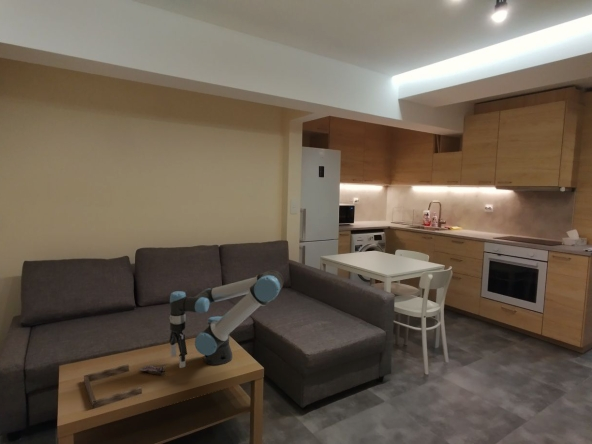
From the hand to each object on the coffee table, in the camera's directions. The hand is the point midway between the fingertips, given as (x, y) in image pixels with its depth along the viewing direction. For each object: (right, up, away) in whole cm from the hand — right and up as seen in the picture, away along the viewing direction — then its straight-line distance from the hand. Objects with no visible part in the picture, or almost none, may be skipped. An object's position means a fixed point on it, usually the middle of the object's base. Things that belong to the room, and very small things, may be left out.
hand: (177, 361), depth 182 cm
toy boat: (-8, -6, -6) cm, 12 cm away
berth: (-24, -5, -18) cm, 30 cm away
